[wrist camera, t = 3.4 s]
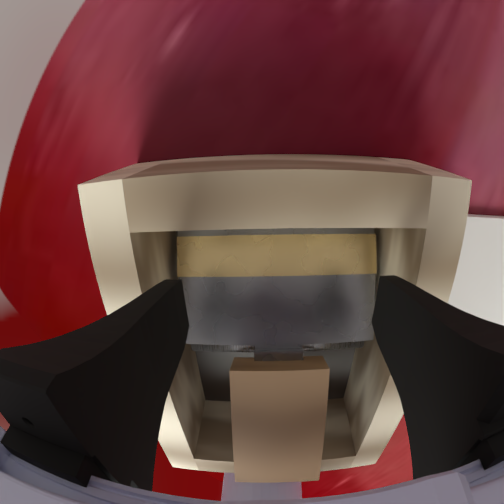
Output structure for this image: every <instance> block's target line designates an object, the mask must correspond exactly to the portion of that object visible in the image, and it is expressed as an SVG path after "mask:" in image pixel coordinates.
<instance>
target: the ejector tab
mask: <svg viewBox="0 0 504 504" xmlns="http://www.w3.org/2000/svg"><path fill="white" fill-rule="evenodd" d="M375 274H377V258H376V234H374V228H278V229H226V230H190V231H178V237H177V277H178V278H179V279H182V284H183V291H184V297H185V303H186V309H187V315H188V321H189V330H188V335H187V340H186V344H191V350H192V351H211V352H254V361H295V360H303V355H304V351H320V350H337V349H351V348H362V347H363V346H364V341H367V340H373V337H374V330H373V326H372V322H371V321H372V317H373V312H374V306H375Z"/></svg>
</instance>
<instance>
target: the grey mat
mask: <svg viewBox="0 0 504 504" xmlns="http://www.w3.org/2000/svg"><path fill="white" fill-rule="evenodd" d="M448 304H450V305H452V306H454V307H456V308H458V309H460V310H462V311H465V312H467V313H469V314H472V315H474V316H477V317H479V318H482V319H484V320H487V321H490V322H494V323H497V324H500V325H503V326H504V216H491V215H475V214H468V215H467V222H466V228H465V233H464V238H463V244H462V248H461V253H460V258H459V262H458V266H457V271H456V275H455V279H454V282H453V286H452V290H451V293H450V297H449V300H448Z"/></svg>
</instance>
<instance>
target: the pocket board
mask: <svg viewBox="0 0 504 504" xmlns="http://www.w3.org/2000/svg"><path fill="white" fill-rule="evenodd" d="M471 185H472V180H470V179H467V178H464V177H462V176H459V175H456V174H453V173H450V172H447V171H444V170H441V169H438V168H435V167H432V166H428V165H425V164H422V163H419V162H415V161H412V160H406V159H395V158H382V157H368V156H349V155H318V154H264V155H233V156H214V157H199V158H185V159H174V160H163V161H154V162H145V163H137V164H134V165H131V166H128V167H125V168H122V169H119V170H116V171H113V172H111V173H108V174H105V175H102V176H100V177H97V178H94V179H92V180H89V181H87V182H84V183H81V184H79V185H78V190H79V197H80V203H81V209H82V215H83V220H84V225H85V230H86V235H87V240H88V244H89V249H90V253H91V258H92V262H93V266H94V270H95V274H96V278H97V281H98V285H99V289H100V292H101V296H102V299H103V303H104V306H105V309H106V312H107V315H109V314H111V313H112V312H114V311H116V310H117V309H119V308H121V307H122V306H124V305H126V304H127V303H129V302H131V301H132V300H134V299H135V298H137V297H138V296H140V295H141V294H143V293H144V292H146V291H147V290H149V289H150V288H152V287H153V286H155V285H156V284H158V283H160V282H161V281H163V280H166V279H179V278H178V277H177V237H178V231H190V230H226V229H278V228H374V234H376V258H377V274H375V301H376V296H377V290H378V284H379V278H380V276H388V275H395V276H398V277H400V278H402V279H405V280H406V281H408V282H410V283H412V284H414V285H416V286H417V287H419V288H421V289H423V290H424V291H426V292H428V293H430V294H432V295H433V296H435V297H437V298H439V299H441V300H442V301H444V302H446V303H448V300H449V297H450V293H451V290H452V286H453V282H454V279H455V275H456V271H457V266H458V262H459V258H460V253H461V248H462V244H463V238H464V233H465V228H466V222H467V215H468V209H469V202H470V194H471ZM303 356H323V358H324V359H325V361H326V363H327V365H328V367H329V368H330V373H329V388H328V402H327V414H326V424H325V434H324V444H323V452H322V461H321V468H320V471H327V470H336V469H344V468H351V467H358V466H364V465H370V464H375V463H376V461H377V460H378V458H379V457H380V455H381V453H382V452H383V450H384V448H385V447H386V445H387V443H388V441H389V440H390V438H391V436H392V434H393V433H394V431H395V429H396V427H397V425H398V423H399V421H400V420H401V418H402V416H403V414H404V412H403V408H402V404H401V400H400V397H399V394H398V391H397V388H396V386H395V383H394V381H393V378H392V376H391V374H390V371H389V369H388V367H387V364H386V362H385V360H384V358H383V355H382V353H381V351H380V348H379V346H378V344H377V340H376V337H375V333H374V337H373V340H367V341H364V346H363V347H362V348H351V349H337V350H320V351H304V355H303ZM234 357H254V352H211V351H192V350H191V344H185V348H184V351H183V354H182V357H181V360H180V362H179V365H178V368H177V371H176V373H175V376H174V379H173V381H172V384H171V387H170V390H169V392H168V396H167V399H166V402H165V406H164V411H163V416H162V420H161V425H160V431H159V437H158V440H159V442H160V444H161V446H162V448H163V450H164V452H165V454H166V456H167V457H168V459H169V461H170V463H171V464H172V466H173V467H177V468H184V469H193V470H201V471H212V472H226V473H234V458H233V441H232V421H231V400H230V375H229V370H230V367H231V365H232V362H233V359H234Z"/></svg>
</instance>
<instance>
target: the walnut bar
mask: <svg viewBox="0 0 504 504" xmlns="http://www.w3.org/2000/svg"><path fill="white" fill-rule="evenodd" d="M329 373H330V368H329V367H328V365H327V363H326V361H325V359H324V358H323V356H303V360H295V361H254V357H234V359H233V362H232V365H231V367H230V370H229V375H230V400H231V421H232V441H233V458H234V475H235V482H250V483H279V482H302V481H315V480H319V476H320V468H321V461H322V452H323V444H324V434H325V424H326V414H327V402H328V388H329Z"/></svg>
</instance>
